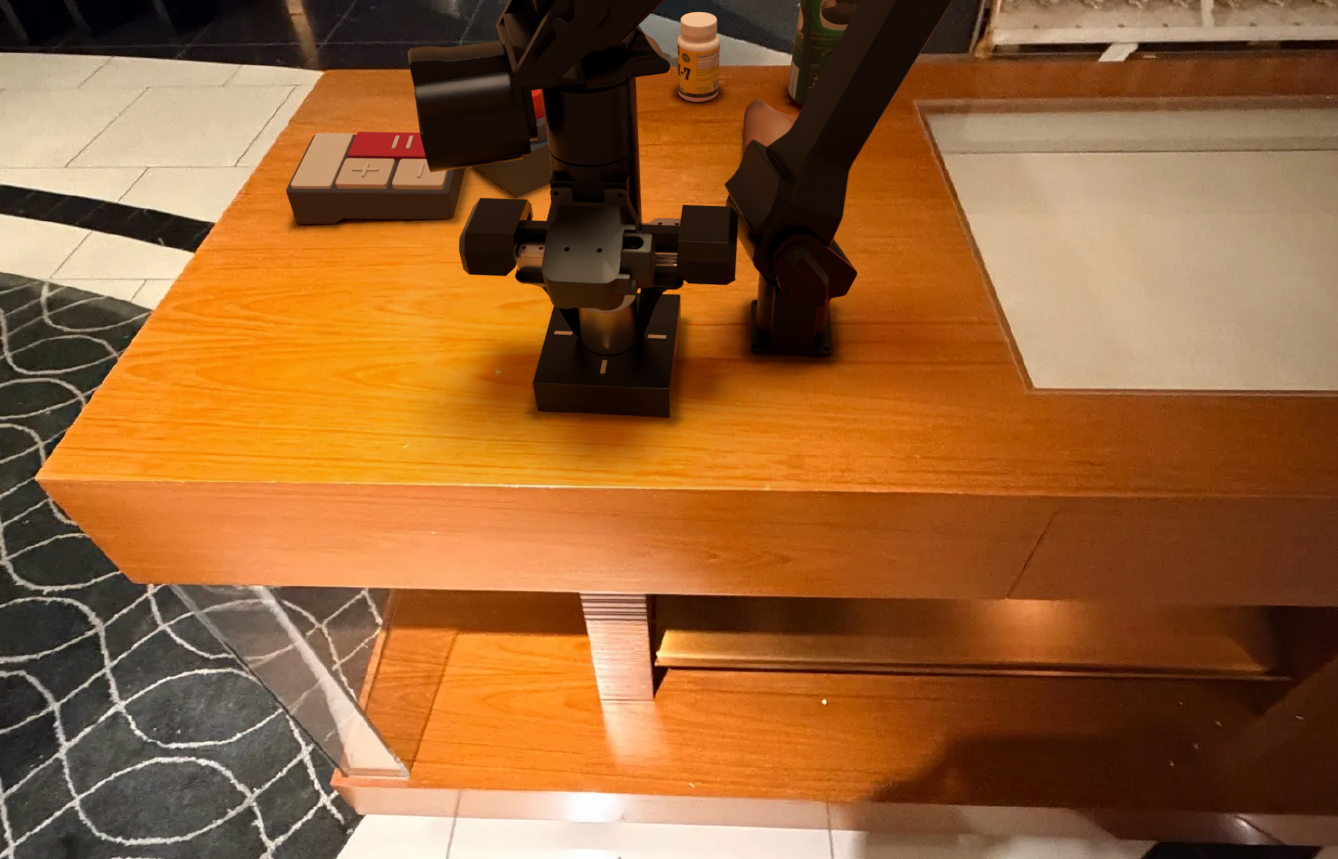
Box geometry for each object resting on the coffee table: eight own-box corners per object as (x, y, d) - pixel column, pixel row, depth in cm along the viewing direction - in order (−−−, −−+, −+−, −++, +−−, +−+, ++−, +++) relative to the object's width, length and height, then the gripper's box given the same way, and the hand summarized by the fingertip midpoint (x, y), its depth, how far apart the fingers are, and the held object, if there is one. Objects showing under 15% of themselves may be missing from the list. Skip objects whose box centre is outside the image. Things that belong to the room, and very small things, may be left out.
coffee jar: (867, 81, 101) (894, -98, 87) (875, 112, 96) (905, -73, 82) (784, 80, 101) (799, -98, 88) (787, 112, 96) (803, -72, 82)
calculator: (446, 185, 80) (281, 184, 79) (453, 225, 83) (294, 224, 82) (461, 128, 87) (311, 126, 86) (467, 167, 90) (322, 165, 89)
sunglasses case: (834, 216, 80) (803, 160, 76) (767, 248, 83) (734, 195, 79) (820, 124, 93) (793, 72, 89) (762, 155, 96) (734, 105, 92)
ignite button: (555, 114, 85) (552, 89, 83) (522, 128, 83) (518, 102, 81) (532, 100, 87) (528, 76, 85) (499, 113, 85) (494, 88, 83)
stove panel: (670, 418, 64) (669, 387, 61) (537, 411, 64) (531, 381, 62) (680, 323, 71) (680, 292, 69) (561, 318, 72) (557, 288, 69)
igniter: (596, 163, 89) (591, 107, 85) (516, 198, 85) (507, 142, 80) (551, 135, 93) (544, 81, 89) (472, 168, 89) (461, 113, 84)
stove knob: (641, 318, 67) (639, 273, 64) (635, 356, 64) (632, 310, 61) (585, 316, 67) (580, 271, 64) (577, 353, 64) (571, 308, 61)
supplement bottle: (671, 88, 100) (670, 14, 94) (709, 81, 102) (710, 7, 95) (686, 106, 97) (686, 30, 91) (725, 98, 98) (727, 23, 92)
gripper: (411, 209, 49) (463, 402, 60) (737, 220, 48) (728, 415, 59) (460, 116, 57) (498, 303, 68) (743, 124, 55) (733, 313, 67)
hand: (609, 333), depth 65 cm, fingers closed on stove knob, 4 cm apart
